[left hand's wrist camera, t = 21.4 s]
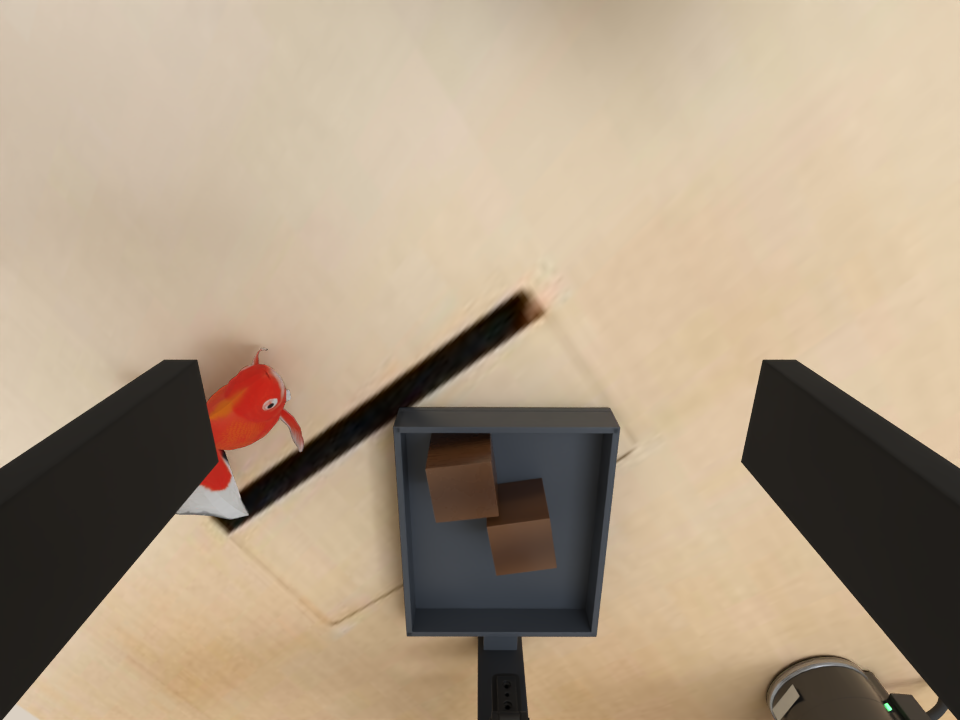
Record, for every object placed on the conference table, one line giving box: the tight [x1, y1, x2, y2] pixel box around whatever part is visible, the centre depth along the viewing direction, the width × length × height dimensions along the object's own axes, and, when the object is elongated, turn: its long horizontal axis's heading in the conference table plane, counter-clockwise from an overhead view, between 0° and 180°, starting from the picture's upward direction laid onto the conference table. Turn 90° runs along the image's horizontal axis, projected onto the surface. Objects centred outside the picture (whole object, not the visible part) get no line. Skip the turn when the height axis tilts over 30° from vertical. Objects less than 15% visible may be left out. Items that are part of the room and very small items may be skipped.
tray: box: [393, 407, 620, 720], centre depth 40 cm, size 25×16×10 cm, turn 0°
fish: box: [175, 348, 304, 519], centre depth 37 cm, size 11×16×10 cm
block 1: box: [425, 433, 499, 523], centre depth 39 cm, size 4×4×5 cm
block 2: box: [486, 478, 557, 576], centre depth 40 cm, size 4×4×5 cm
